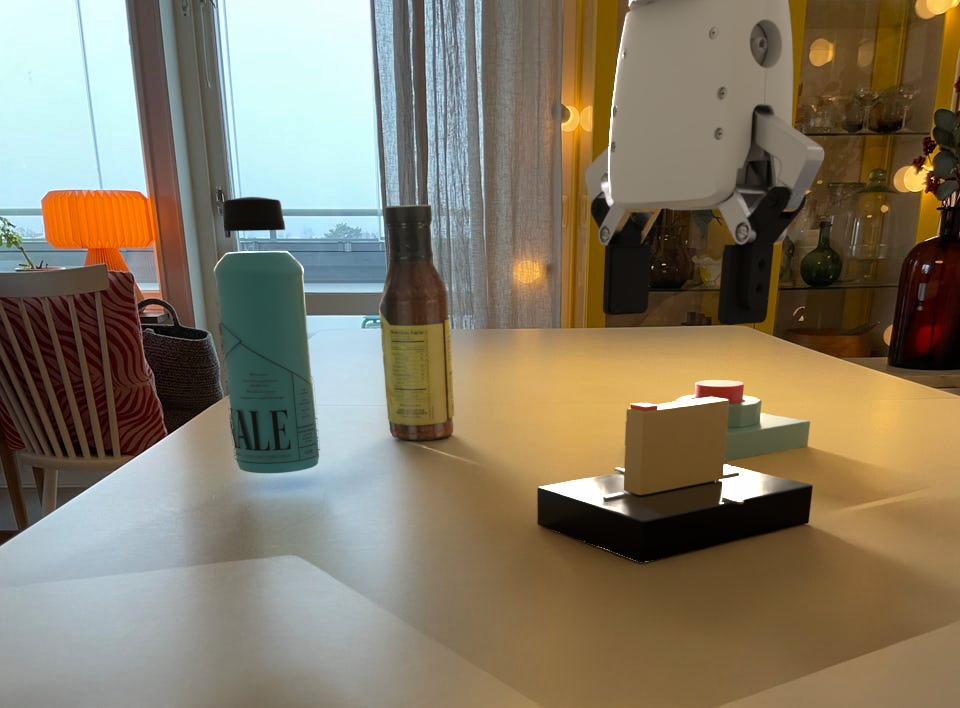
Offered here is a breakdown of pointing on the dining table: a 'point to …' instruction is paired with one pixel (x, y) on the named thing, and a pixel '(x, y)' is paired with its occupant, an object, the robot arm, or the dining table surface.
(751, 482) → the dial base
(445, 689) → the dining table surface
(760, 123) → the robot arm
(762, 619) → the dining table surface
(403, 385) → the sauce bottle
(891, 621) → the dining table surface
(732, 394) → the button
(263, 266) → the beverage bottle
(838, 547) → the dining table surface
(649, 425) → the tan rectangular block
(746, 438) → the button block
